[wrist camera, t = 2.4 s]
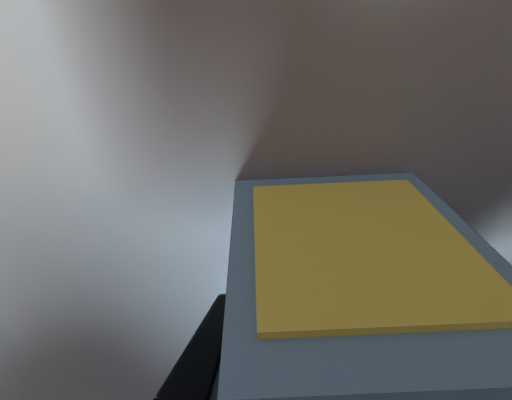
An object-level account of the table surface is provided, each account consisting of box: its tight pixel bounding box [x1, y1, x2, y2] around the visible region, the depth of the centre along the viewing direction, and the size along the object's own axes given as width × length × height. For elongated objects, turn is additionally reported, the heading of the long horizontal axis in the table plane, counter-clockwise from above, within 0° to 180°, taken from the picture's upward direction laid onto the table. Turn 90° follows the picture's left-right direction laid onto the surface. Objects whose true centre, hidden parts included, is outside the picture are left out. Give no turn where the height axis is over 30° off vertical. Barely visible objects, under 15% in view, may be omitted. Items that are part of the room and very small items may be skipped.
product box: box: [217, 172, 512, 400], centre depth 8 cm, size 7×5×6 cm
